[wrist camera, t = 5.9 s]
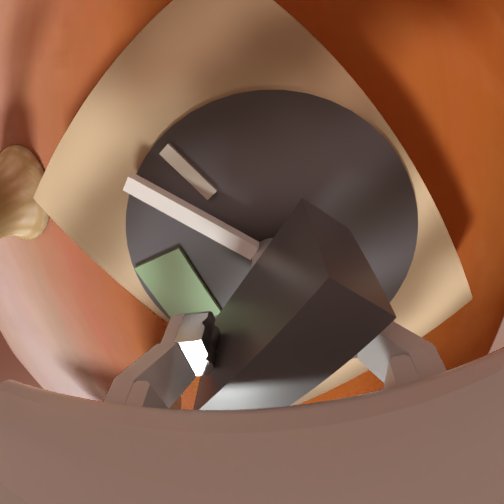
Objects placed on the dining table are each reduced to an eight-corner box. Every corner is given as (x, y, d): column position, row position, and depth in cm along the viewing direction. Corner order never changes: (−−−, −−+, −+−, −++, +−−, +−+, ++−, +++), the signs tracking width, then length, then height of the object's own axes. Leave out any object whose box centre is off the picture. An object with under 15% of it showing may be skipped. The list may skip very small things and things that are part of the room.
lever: (337, 210, 12) (396, 317, 6) (255, 314, 15) (246, 433, 9) (163, 109, 10) (51, 125, 4) (110, 238, 13) (30, 329, 7)
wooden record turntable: (447, 268, 18) (475, 302, 14) (292, 369, 24) (294, 409, 20) (230, -8, 11) (219, -41, 7) (68, 178, 16) (29, 200, 12)
